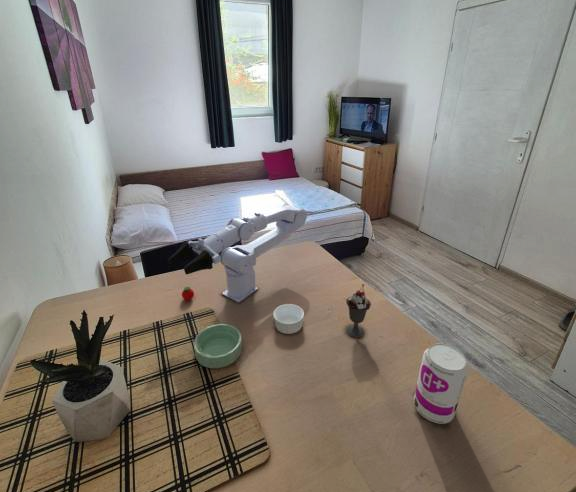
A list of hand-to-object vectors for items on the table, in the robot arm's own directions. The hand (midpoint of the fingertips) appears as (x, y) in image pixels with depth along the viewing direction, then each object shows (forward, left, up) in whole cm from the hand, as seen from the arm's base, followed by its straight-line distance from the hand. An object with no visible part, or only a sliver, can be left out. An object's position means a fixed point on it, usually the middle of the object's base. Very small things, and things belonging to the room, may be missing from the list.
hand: (177, 266), depth 88 cm
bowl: (+2, +16, -19) cm, 25 cm away
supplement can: (-14, +66, -19) cm, 70 cm away
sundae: (-26, +42, -19) cm, 53 cm away
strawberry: (-8, -9, -19) cm, 23 cm away
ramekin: (-17, +25, -19) cm, 36 cm away
